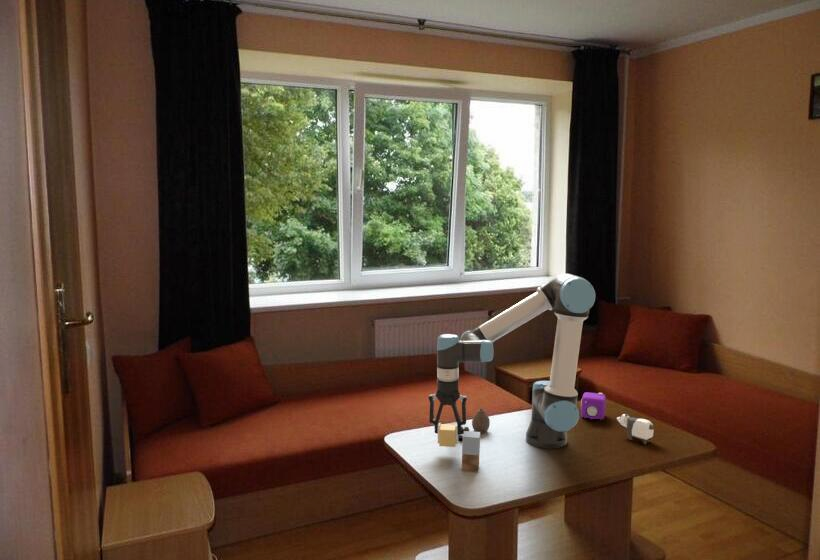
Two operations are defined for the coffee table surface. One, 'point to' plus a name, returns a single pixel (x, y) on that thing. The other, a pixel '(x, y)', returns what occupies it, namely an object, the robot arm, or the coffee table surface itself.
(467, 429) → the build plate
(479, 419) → the vase
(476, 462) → the walnut brick
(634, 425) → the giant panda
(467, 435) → the gray brick
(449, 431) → the yellow cube
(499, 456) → the coffee table surface
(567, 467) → the coffee table surface
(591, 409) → the toy camera
